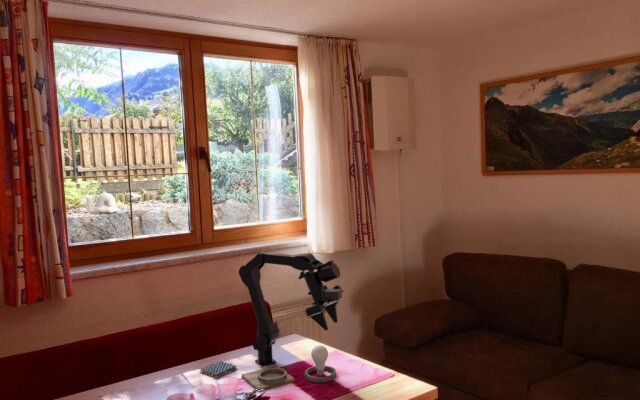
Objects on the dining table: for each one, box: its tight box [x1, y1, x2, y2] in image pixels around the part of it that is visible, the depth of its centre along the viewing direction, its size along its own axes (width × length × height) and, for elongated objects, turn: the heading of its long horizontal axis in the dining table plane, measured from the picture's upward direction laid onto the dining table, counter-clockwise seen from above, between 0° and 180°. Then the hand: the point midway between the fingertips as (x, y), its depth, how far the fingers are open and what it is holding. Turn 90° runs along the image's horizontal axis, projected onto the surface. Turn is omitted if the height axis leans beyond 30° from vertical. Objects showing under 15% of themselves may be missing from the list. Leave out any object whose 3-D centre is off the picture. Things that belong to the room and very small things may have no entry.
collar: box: [304, 365, 337, 383], centre depth 180 cm, size 11×11×2 cm
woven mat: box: [199, 360, 238, 379], centre depth 188 cm, size 10×11×2 cm
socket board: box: [241, 365, 296, 391], centre depth 178 cm, size 15×14×2 cm
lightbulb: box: [310, 344, 329, 377], centre depth 179 cm, size 6×6×11 cm
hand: (331, 326), depth 182 cm, fingers open, 9 cm apart
